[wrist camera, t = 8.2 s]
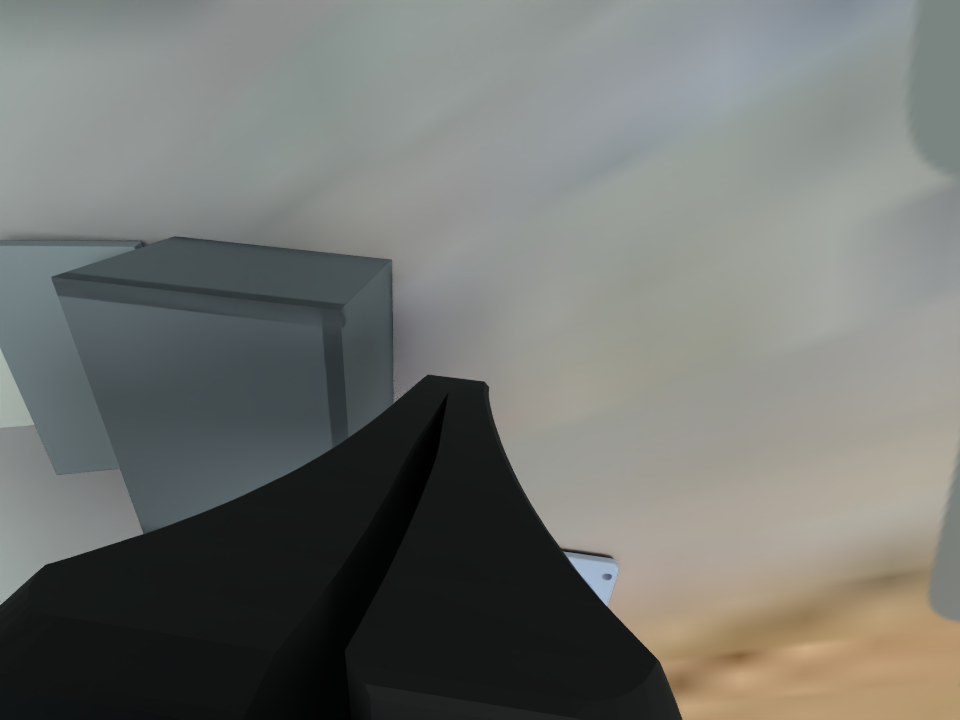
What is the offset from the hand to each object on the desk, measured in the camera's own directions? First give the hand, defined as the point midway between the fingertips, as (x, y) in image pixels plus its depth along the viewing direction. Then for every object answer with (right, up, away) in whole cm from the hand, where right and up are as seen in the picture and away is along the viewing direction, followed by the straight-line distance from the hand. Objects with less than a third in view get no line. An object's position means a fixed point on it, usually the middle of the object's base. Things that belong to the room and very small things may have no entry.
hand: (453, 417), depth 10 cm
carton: (-8, +1, +11) cm, 14 cm away
